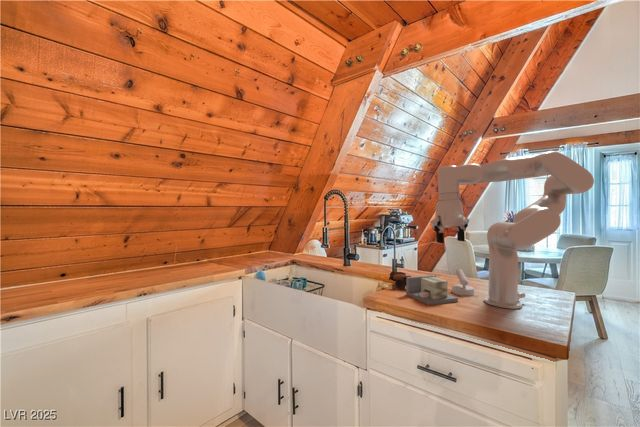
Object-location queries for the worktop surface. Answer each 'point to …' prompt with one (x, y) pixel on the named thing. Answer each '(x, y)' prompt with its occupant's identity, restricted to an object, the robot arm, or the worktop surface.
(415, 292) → the board
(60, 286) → the worktop surface
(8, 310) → the worktop surface
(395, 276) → the pottery mug
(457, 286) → the wall hook
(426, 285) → the saddle block
